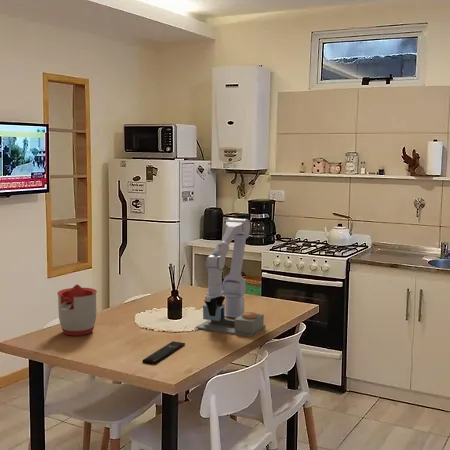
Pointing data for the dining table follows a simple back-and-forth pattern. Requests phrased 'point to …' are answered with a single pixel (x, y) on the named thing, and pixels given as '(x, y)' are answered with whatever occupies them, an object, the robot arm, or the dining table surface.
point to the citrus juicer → (77, 310)
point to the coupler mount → (236, 324)
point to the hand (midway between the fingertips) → (214, 314)
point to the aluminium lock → (218, 313)
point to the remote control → (163, 353)
